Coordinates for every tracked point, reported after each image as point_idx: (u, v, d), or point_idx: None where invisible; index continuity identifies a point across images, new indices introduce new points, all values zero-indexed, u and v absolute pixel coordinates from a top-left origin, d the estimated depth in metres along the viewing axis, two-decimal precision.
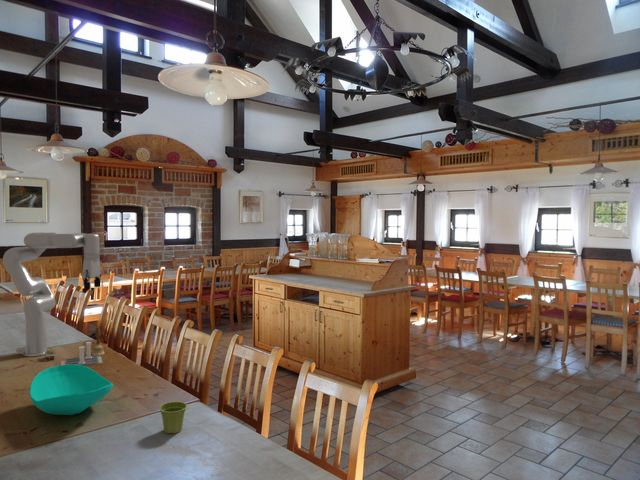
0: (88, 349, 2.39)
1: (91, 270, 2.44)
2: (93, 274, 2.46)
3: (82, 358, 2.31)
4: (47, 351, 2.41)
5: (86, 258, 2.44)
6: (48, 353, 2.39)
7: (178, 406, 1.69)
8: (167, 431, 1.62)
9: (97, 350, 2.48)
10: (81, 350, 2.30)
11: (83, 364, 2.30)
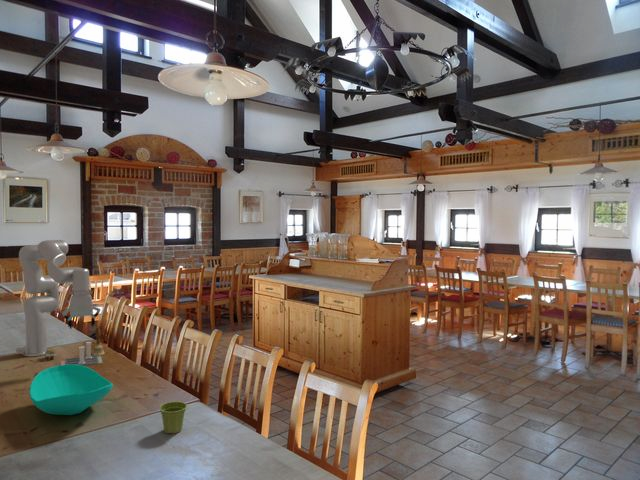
0: (88, 349, 2.39)
1: None
2: None
3: (82, 358, 2.31)
4: (47, 351, 2.42)
5: (89, 294, 2.31)
6: (48, 353, 2.39)
7: (178, 406, 1.69)
8: (167, 431, 1.62)
9: (97, 350, 2.48)
10: (81, 350, 2.30)
11: (83, 364, 2.30)
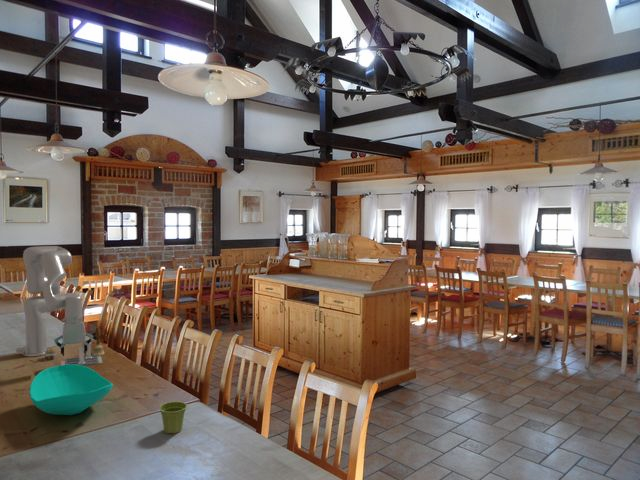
0: (88, 349, 2.39)
1: None
2: None
3: (82, 358, 2.31)
4: (47, 351, 2.42)
5: (82, 321, 2.30)
6: (48, 353, 2.39)
7: (178, 406, 1.69)
8: (167, 431, 1.62)
9: (97, 350, 2.48)
10: (81, 350, 2.30)
11: (83, 364, 2.30)
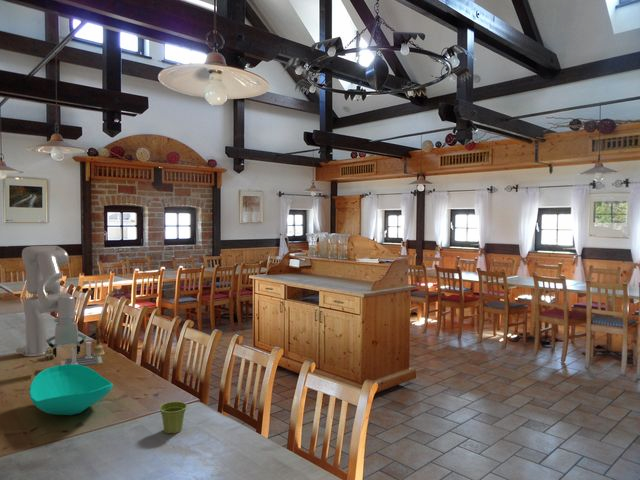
0: (88, 349, 2.39)
1: None
2: None
3: (74, 359, 2.29)
4: (47, 351, 2.42)
5: (74, 321, 2.28)
6: (47, 353, 2.39)
7: (178, 406, 1.69)
8: (167, 431, 1.62)
9: (97, 350, 2.48)
10: (73, 351, 2.29)
11: (83, 364, 2.30)
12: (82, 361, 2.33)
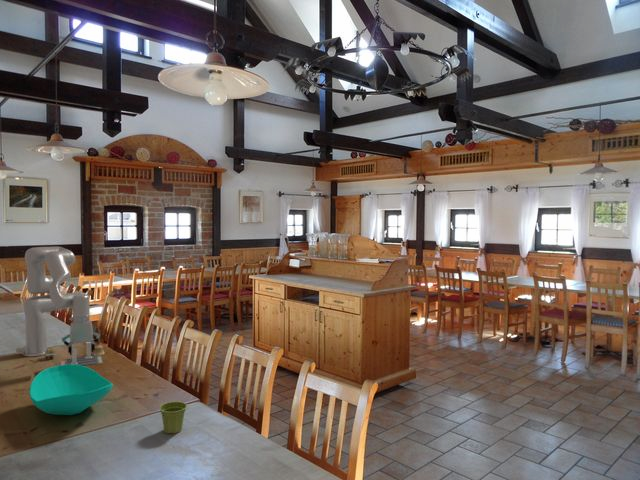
0: (88, 349, 2.39)
1: None
2: None
3: (74, 359, 2.29)
4: (46, 351, 2.42)
5: (89, 320, 2.31)
6: (47, 352, 2.40)
7: (178, 406, 1.69)
8: (167, 431, 1.62)
9: (97, 350, 2.48)
10: (73, 351, 2.29)
11: (83, 364, 2.30)
12: (82, 361, 2.33)
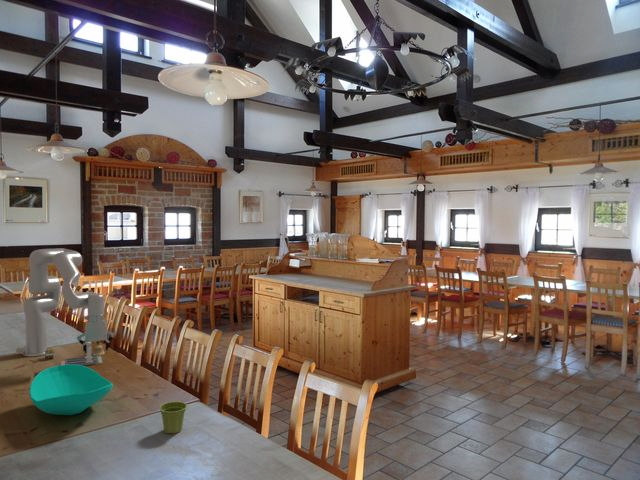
0: None
1: None
2: None
3: (89, 357, 2.32)
4: (46, 350, 2.43)
5: (103, 319, 2.35)
6: (47, 352, 2.40)
7: (178, 406, 1.69)
8: (167, 431, 1.62)
9: (97, 350, 2.48)
10: (88, 349, 2.32)
11: (83, 364, 2.30)
12: (82, 361, 2.33)
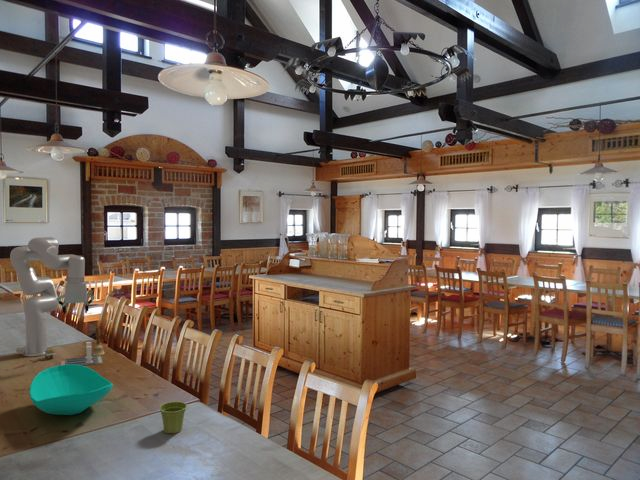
0: None
1: None
2: None
3: (89, 357, 2.32)
4: (46, 350, 2.43)
5: None
6: (47, 352, 2.40)
7: (178, 406, 1.69)
8: (167, 431, 1.62)
9: (97, 350, 2.48)
10: (88, 349, 2.32)
11: (83, 364, 2.30)
12: (82, 361, 2.33)
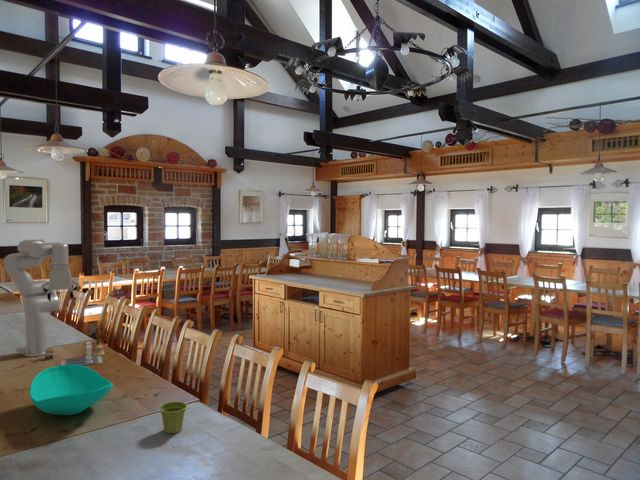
0: None
1: None
2: None
3: (89, 357, 2.32)
4: (46, 350, 2.43)
5: None
6: (47, 352, 2.40)
7: (178, 406, 1.69)
8: (167, 431, 1.62)
9: (97, 350, 2.48)
10: (88, 349, 2.32)
11: (83, 364, 2.30)
12: (82, 361, 2.33)
